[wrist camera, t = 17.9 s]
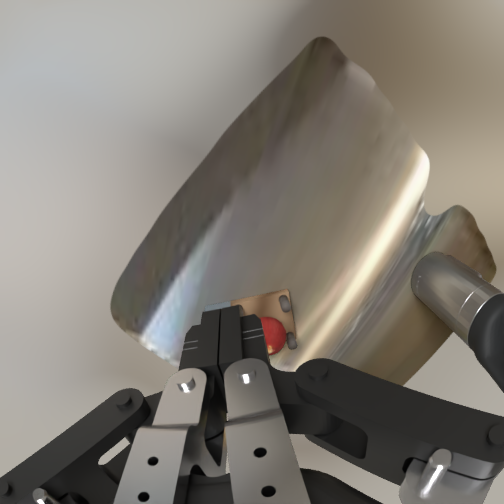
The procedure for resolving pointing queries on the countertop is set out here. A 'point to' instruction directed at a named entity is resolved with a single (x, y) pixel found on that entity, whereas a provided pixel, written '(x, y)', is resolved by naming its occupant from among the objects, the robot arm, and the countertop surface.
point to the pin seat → (271, 310)
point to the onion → (273, 334)
